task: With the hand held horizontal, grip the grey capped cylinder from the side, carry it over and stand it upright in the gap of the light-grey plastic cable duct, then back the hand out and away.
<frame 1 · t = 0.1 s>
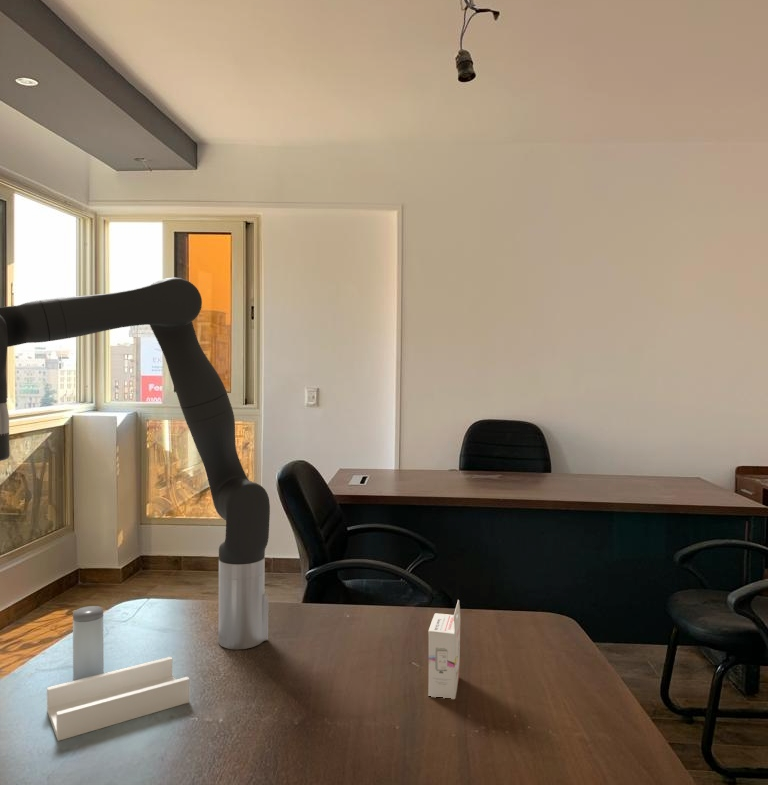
cable duct: (119, 706, 107), on the table
grey capped cylinder: (88, 676, 117), on the table
ink cartridge box: (443, 688, 115), on the table
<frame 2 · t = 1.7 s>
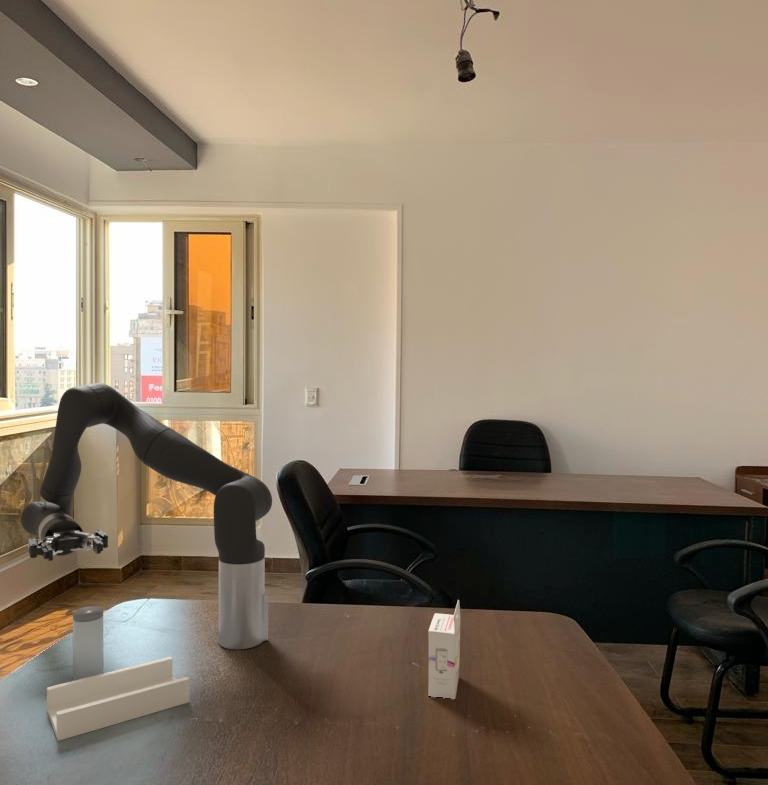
hand: (75, 552, 125), 20 cm above the table, tool horizontal, fingers open, 8 cm apart
nothing on the table moved.
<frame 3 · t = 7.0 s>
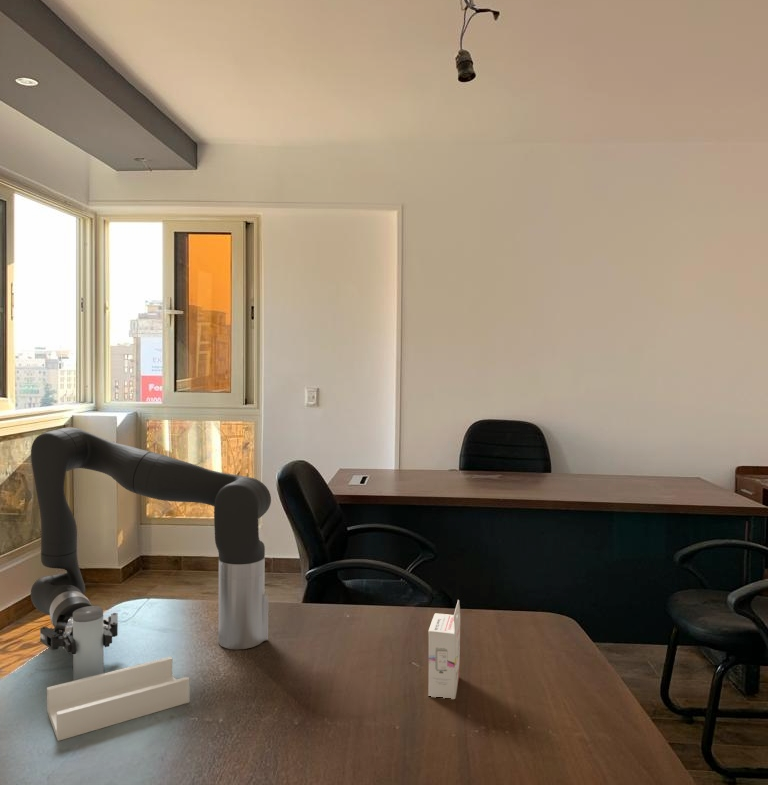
hand: (91, 645, 115), 7 cm above the table, tool horizontal, fingers closed on grey capped cylinder, 5 cm apart
grey capped cylinder: (88, 676, 117), on the table, touching gripper
everything else where it was.
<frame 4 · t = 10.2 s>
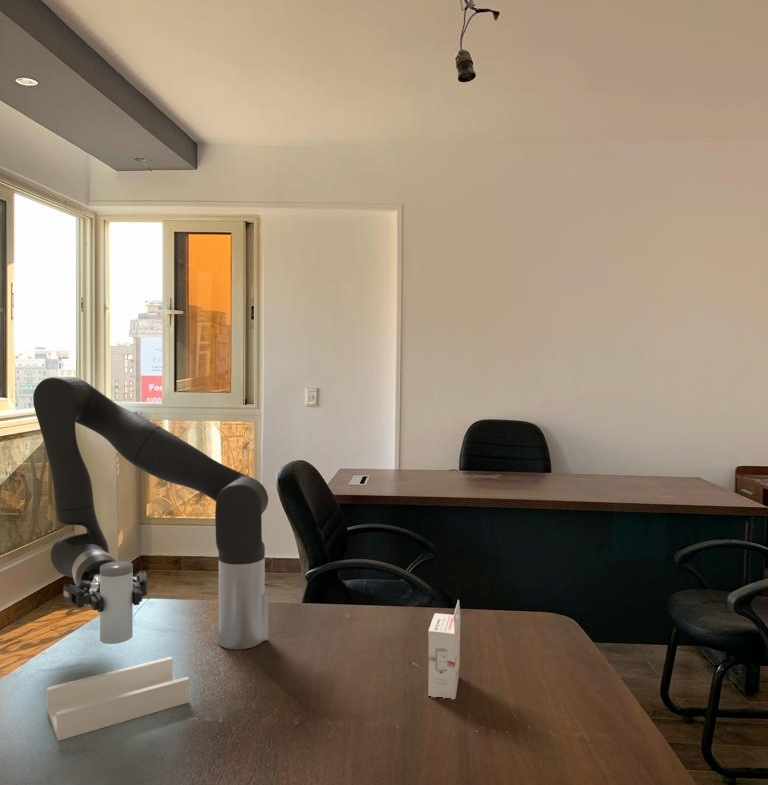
hand: (119, 602, 105), 18 cm above the table, tool horizontal, fingers closed on grey capped cylinder, 5 cm apart
grey capped cylinder: (116, 637, 107), point 11 cm above the table, touching gripper
everything else where it was.
when the fingers open (9 cm above the table, at t = 13.3 s): grey capped cylinder drops 2 cm, resting on cable duct.
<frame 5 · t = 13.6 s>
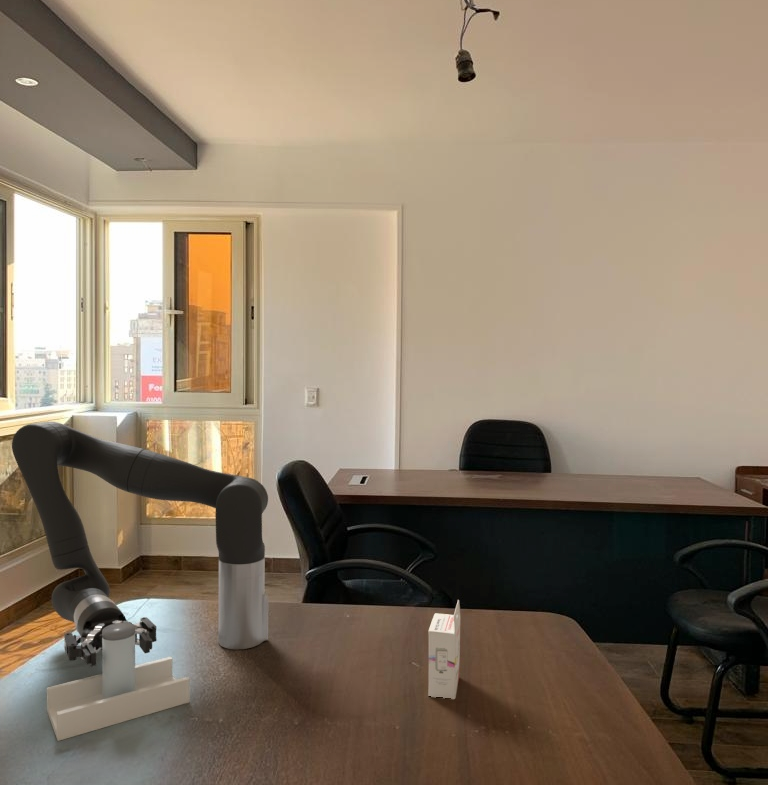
hand: (121, 653, 105), 10 cm above the table, tool horizontal, fingers open, 8 cm apart
grey capped cylinder: (119, 700, 107), point 1 cm above the table, touching cable duct
everything else where it was.
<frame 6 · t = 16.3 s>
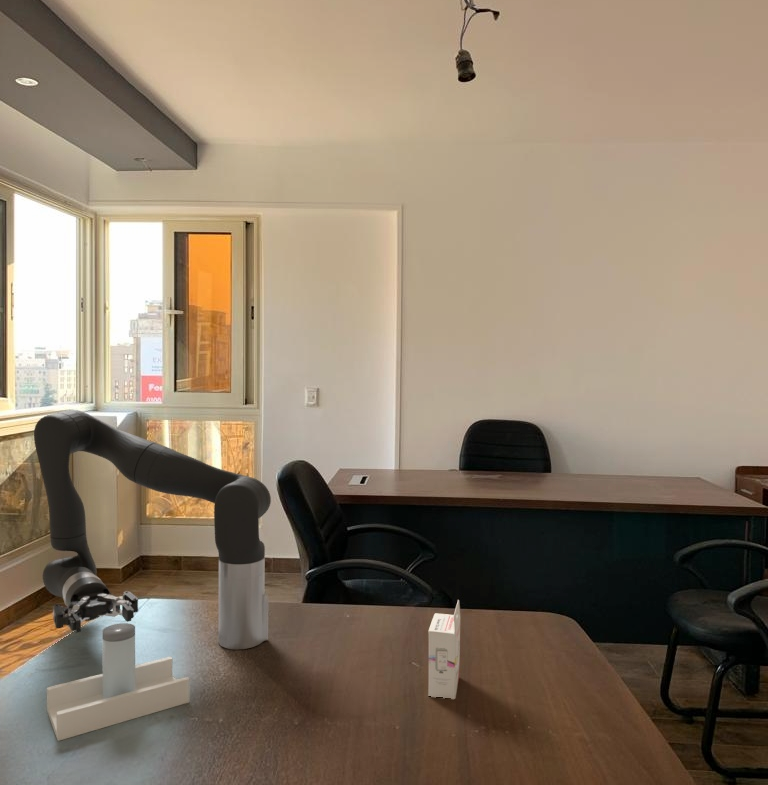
hand: (104, 621, 116), 10 cm above the table, tool horizontal, fingers open, 8 cm apart
nothing on the table moved.
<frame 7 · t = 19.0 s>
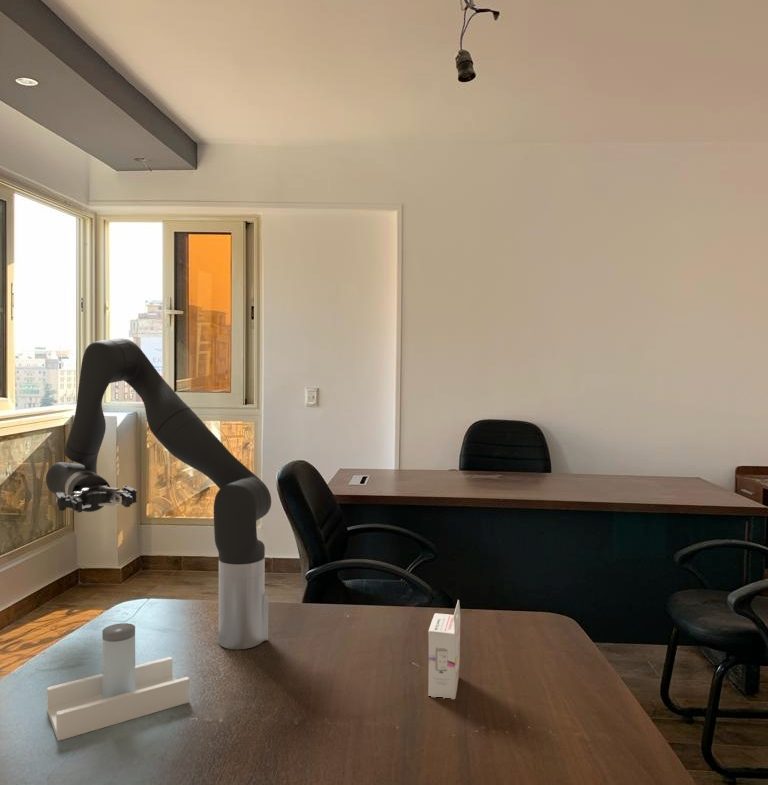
hand: (104, 504, 122), 30 cm above the table, tool horizontal, fingers open, 8 cm apart
nothing on the table moved.
at the end: grey capped cylinder inside the target area on the cable duct (0.1 cm from its centre), point 1.0 cm above the cable duct's base; grey capped cylinder tilted 0°; the gripper is holding nothing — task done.
